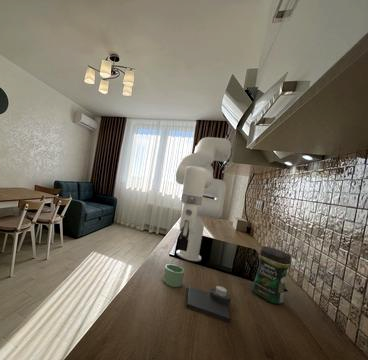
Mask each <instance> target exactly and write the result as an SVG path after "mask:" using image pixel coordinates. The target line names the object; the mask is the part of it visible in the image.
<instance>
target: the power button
mask: <svg viewBox="0 0 368 360" xmlns="http://www.w3.org/2000/svg"><path fill="white" fill-rule="evenodd" d="M215 288H216V292H215V293H216V294H217V295H219V296H222V297H226V292H227V293H228V290H227V289H226V288H225V287H224V286H221V285H216V287H215Z"/></svg>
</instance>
